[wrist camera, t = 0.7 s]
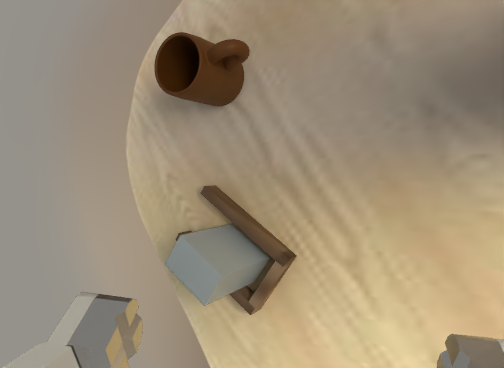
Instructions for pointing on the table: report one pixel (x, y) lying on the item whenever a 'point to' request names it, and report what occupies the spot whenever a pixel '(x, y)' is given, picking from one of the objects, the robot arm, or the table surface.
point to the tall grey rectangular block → (216, 261)
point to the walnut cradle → (260, 237)
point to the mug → (201, 68)
